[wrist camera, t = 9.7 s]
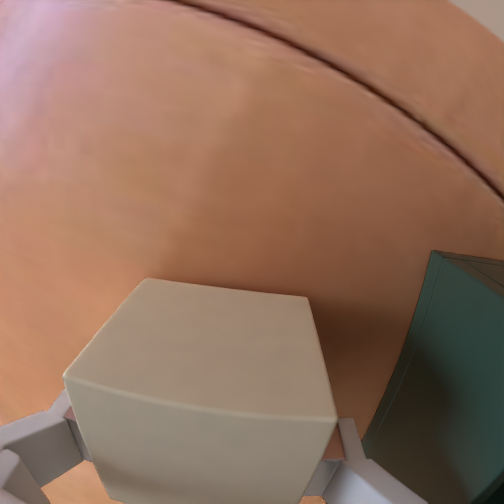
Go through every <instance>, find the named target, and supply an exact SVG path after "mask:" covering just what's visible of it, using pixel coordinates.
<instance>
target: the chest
mask: <svg viewBox="0 0 504 504" xmlns="http://www.w3.org/2000/svg"><path fill="white" fill-rule="evenodd" d="M361 443H362V446H363V450H364V453H365V456H366V459H372V460H373V461H375V462H376V463H377V464H378V465H379V466H381V467H382V468H383V469H384V470H386V471H387V472H388V473H390V474H391V475H392V476H393V477H395V478H396V479H397V480H399V481H400V482H401V483H402V484H404V485H405V486H406V487H408V488H409V489H410V490H412V491H413V492H414V493H416V494H417V495H418V496H420V497H421V498H422V499H424V500H425V501H427V502H428V503H429V504H504V261H499V260H493V259H487V258H481V257H474V256H468V255H462V254H455V253H449V252H442V251H435V250H433V251H432V252H431V256H430V260H429V264H428V268H427V272H426V276H425V280H424V283H423V287H422V290H421V294H420V297H419V301H418V304H417V307H416V310H415V314H414V317H413V320H412V323H411V326H410V329H409V332H408V335H407V338H406V340H405V343H404V346H403V349H402V352H401V354H400V357H399V359H398V362H397V365H396V367H395V370H394V372H393V375H392V377H391V380H390V382H389V385H388V387H387V389H386V392H385V394H384V396H383V398H382V401H381V403H380V405H379V407H378V410H377V412H376V414H375V416H374V418H373V420H372V422H371V424H370V426H369V429H368V431H367V433H366V435H365V437H364V439H363V440H362V442H361ZM326 504H327V503H326Z"/></svg>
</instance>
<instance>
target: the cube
mask: <svg viewBox="0 0 504 504" xmlns="http://www.w3.org/2000/svg"><path fill="white" fill-rule="evenodd" d="M63 381H64V384H65V388H66V391H67V394H68V397H69V401H70V404H71V407H72V410H73V413H74V415H75V418H76V421H77V424H78V427H79V429H80V432H81V435H82V437H83V440H84V442H85V445H86V447H87V450H88V452H89V455H90V457H91V459H92V462H93V464H94V466H95V468H96V471H97V473H98V475H99V477H100V479H101V481H102V483H103V485H104V487H105V489H106V491H107V493H108V495H109V497H110V498H111V499H113V500H116V501H119V502H123V503H126V504H299V502H300V501H301V499H302V497H303V495H304V493H305V491H306V489H307V487H308V485H309V483H310V481H311V479H312V477H313V475H314V473H315V471H316V469H317V467H318V465H319V463H320V461H321V458H322V456H323V454H324V452H325V450H326V448H327V445H328V443H329V441H330V439H331V436H332V434H333V432H334V429H335V427H336V425H337V422H338V415H337V410H336V406H335V402H334V398H333V394H332V389H331V385H330V381H329V377H328V373H327V369H326V365H325V361H324V357H323V353H322V349H321V345H320V342H319V338H318V334H317V330H316V326H315V322H314V319H313V315H312V311H311V308H310V304H309V300H308V298H307V297H301V296H291V295H282V294H273V293H264V292H255V291H246V290H238V289H229V288H221V287H213V286H205V285H197V284H190V283H182V282H175V281H168V280H161V279H154V278H144V279H143V280H142V281H141V283H140V284H139V285H138V286H137V287H136V288H135V289H134V290H133V292H132V293H131V294H130V295H129V296H128V297H127V298H126V299H125V301H124V302H123V303H122V304H121V305H120V306H119V307H118V309H117V310H116V311H115V312H114V313H113V314H112V316H111V317H110V318H109V319H108V320H107V321H106V323H105V324H104V325H103V326H102V327H101V328H100V330H99V331H98V332H97V333H96V334H95V336H94V337H93V338H92V339H91V340H90V342H89V343H88V344H87V345H86V346H85V348H84V349H83V350H82V351H81V352H80V354H79V355H78V356H77V357H76V359H75V360H74V361H73V362H72V364H71V365H70V366H69V367H68V369H67V370H66V371H65V372H64V374H63Z"/></svg>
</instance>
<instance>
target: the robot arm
mask: <svg viewBox="0 0 504 504" xmlns="http://www.w3.org/2000/svg"><path fill="white" fill-rule="evenodd" d="M83 459H84V460H87V461H90V462H92V459H91V457H90V455H89V452H88V450H87V447H86V445H85V442H84V440H83V437H82V435H81V432H80V429H79V427H78V424H77V421H76V418H75V415H74V413H73V410H72V407H71V404H70V401H69V397H68V394H67V391H66V388H64V390H63V391H62V392H61V394H60V395H59V396H58V398H57V399H56V400H55V402H54V403H53V404H52V406H51V407H50V408H49V410H48V411H44V410H42V411H40V412H37V413H35V414H32V415H30V416H27V417H24V418H22V419H19V420H16V421H14V422H11V423H8V424H6V425H3V426H0V504H50V501H49V499H48V498H47V496H46V495H45V494H44V492H43V491H42V490H41V487H43V486H44V485H46V484H48V483H49V482H51V481H52V480H54V479H56V478H57V477H59V476H60V475H62V474H64V473H65V472H67V471H68V470H70V469H71V468H73V467H75V466H76V465H78V464H79V463H81V462H82V461H83ZM303 496H322V498H323V499H324V500H325V501H326V503H327V504H429V503H428V502H427V501H425V500H424V499H422V498H421V497H420V496H418V495H417V494H416V493H414V492H413V491H412V490H410V489H409V488H408V487H406V486H405V485H404V484H402V483H401V482H400V481H399V480H397V479H396V478H395V477H393V476H392V475H391V474H390V473H388V472H387V471H386V470H384V469H383V468H382V467H381V466H379V465H378V464H377V463H376V462H375V461H373V460H372V459H366V456H365V453H364V450H363V446H362V443H361V440H360V436H359V433H358V430H357V426H356V423H355V420H354V419H353V418H352V417H338V422H337V425H336V427H335V429H334V432H333V434H332V436H331V439H330V441H329V443H328V445H327V448H326V450H325V452H324V454H323V456H322V458H321V461H320V463H319V465H318V467H317V469H316V471H315V473H314V475H313V477H312V479H311V481H310V483H309V485H308V487H307V489H306V491H305V493H304V495H303Z"/></svg>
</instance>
